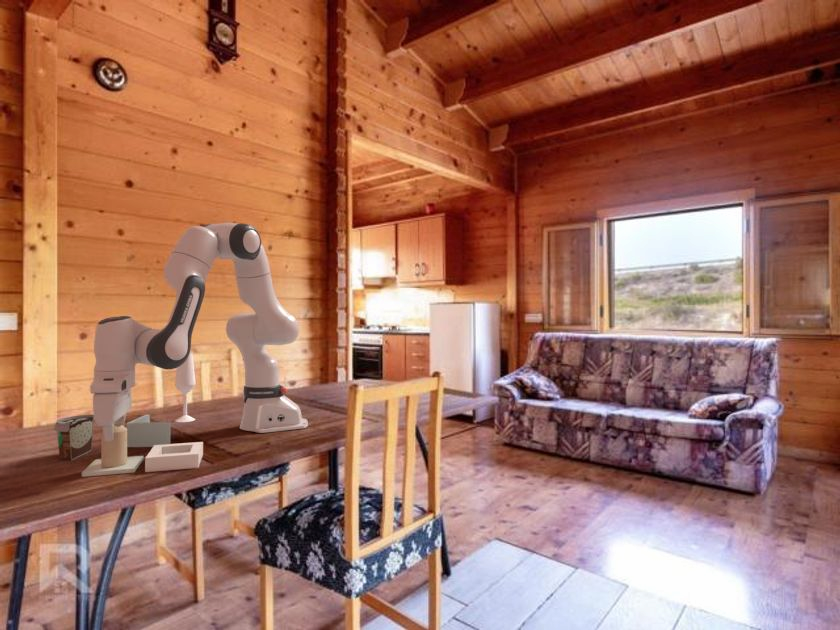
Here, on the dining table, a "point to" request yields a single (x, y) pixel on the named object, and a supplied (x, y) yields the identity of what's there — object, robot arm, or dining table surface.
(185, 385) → the champagne flute
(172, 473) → the dining table surface
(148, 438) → the l-shaped corner panel
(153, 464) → the pocket block
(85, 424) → the food container
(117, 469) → the cream tile
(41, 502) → the dining table surface
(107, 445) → the candle
